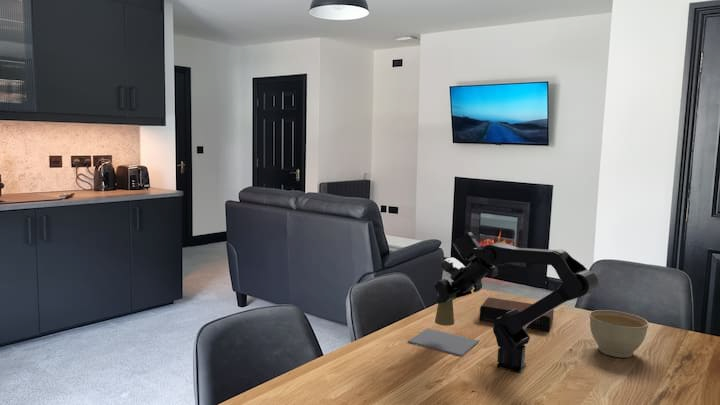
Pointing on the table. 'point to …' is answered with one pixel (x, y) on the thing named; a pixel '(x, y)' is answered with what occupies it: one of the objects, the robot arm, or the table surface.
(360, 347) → the table surface
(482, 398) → the table surface
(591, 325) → the planter bowl
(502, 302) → the dark brown rectangular block
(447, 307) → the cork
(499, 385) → the table surface
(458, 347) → the mat
